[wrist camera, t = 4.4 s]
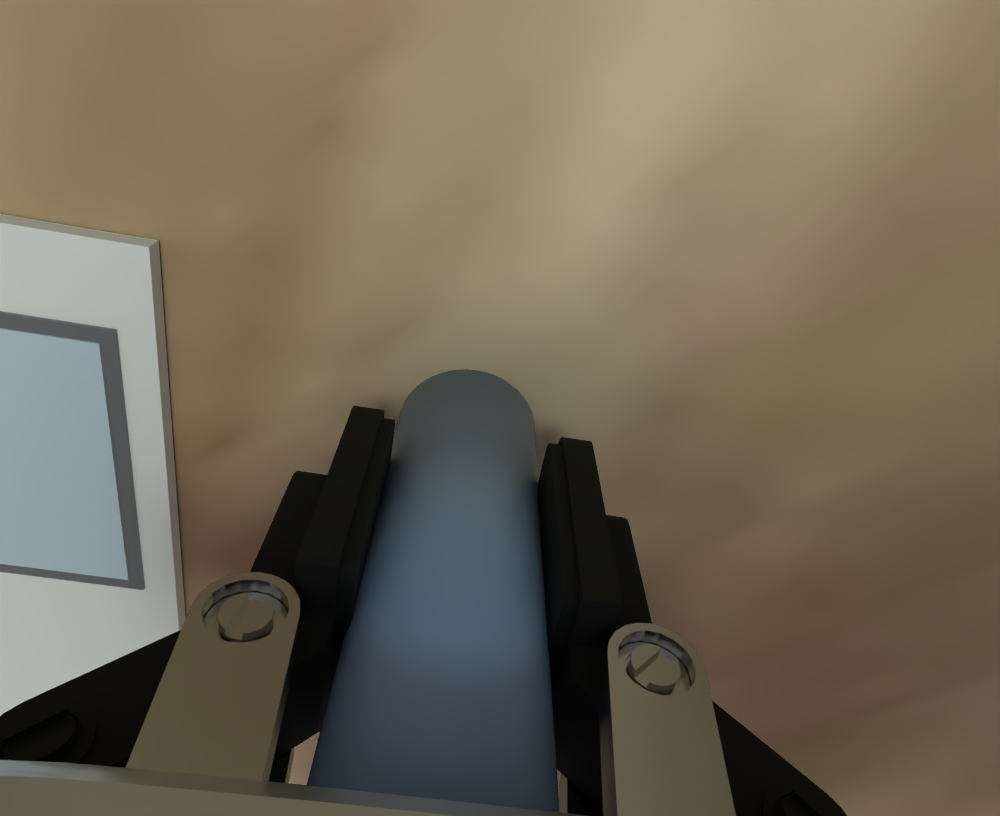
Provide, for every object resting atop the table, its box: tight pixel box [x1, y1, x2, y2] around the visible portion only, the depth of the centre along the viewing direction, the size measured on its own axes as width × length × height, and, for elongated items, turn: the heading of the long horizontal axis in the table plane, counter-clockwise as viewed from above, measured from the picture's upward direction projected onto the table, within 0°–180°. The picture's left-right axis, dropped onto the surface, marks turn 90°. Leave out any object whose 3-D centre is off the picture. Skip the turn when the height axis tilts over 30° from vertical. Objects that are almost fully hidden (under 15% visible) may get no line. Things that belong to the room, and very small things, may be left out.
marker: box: [307, 370, 559, 812], centre depth 10 cm, size 3×3×10 cm
